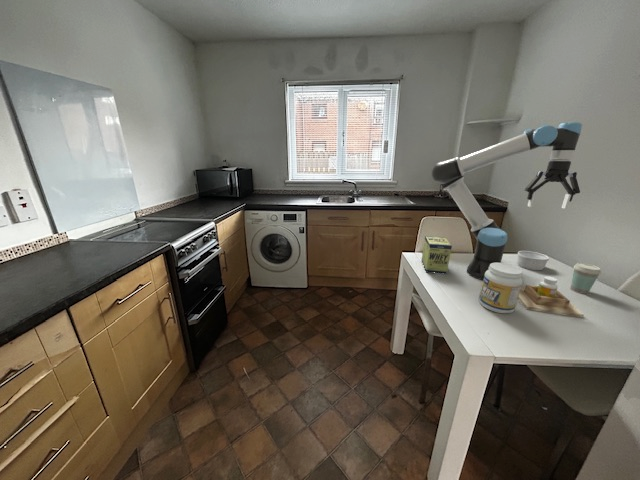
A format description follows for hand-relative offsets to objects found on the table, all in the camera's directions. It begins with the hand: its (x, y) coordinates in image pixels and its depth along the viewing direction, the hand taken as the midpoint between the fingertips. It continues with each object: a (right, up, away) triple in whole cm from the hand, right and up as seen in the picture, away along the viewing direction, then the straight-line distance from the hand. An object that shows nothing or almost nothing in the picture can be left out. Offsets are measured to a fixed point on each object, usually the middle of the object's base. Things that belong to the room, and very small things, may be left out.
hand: (546, 207), depth 119 cm
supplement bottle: (-15, -40, -15) cm, 45 cm away
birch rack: (-15, -41, -15) cm, 46 cm away
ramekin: (+9, -30, +20) cm, 37 cm away
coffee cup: (+10, -38, -5) cm, 40 cm away
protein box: (-46, -31, +18) cm, 58 cm away
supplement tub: (-36, -42, -17) cm, 58 cm away
